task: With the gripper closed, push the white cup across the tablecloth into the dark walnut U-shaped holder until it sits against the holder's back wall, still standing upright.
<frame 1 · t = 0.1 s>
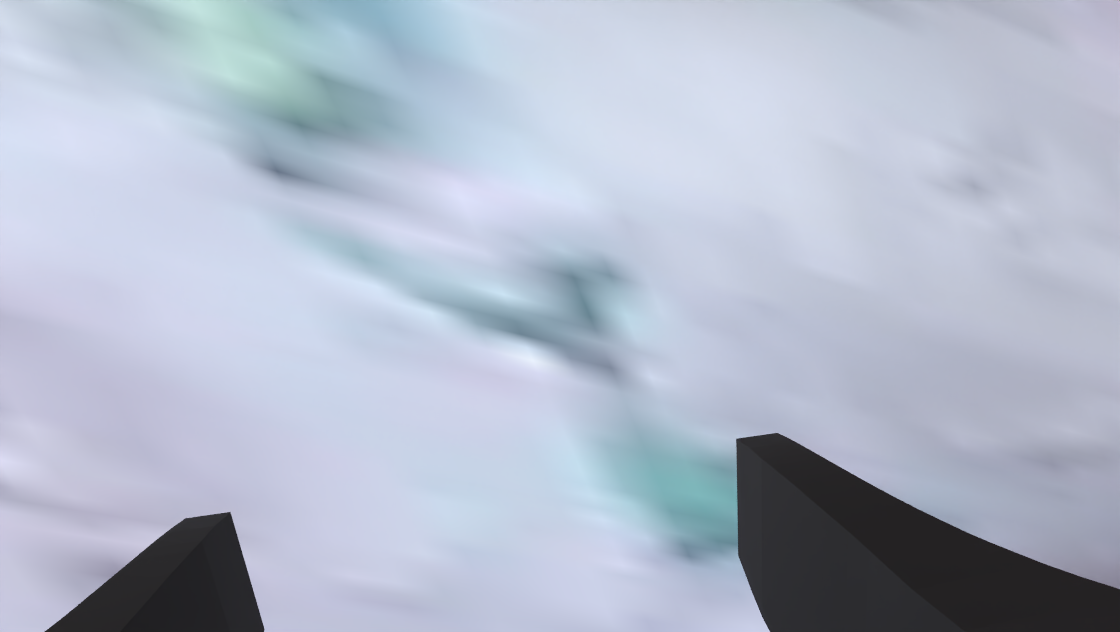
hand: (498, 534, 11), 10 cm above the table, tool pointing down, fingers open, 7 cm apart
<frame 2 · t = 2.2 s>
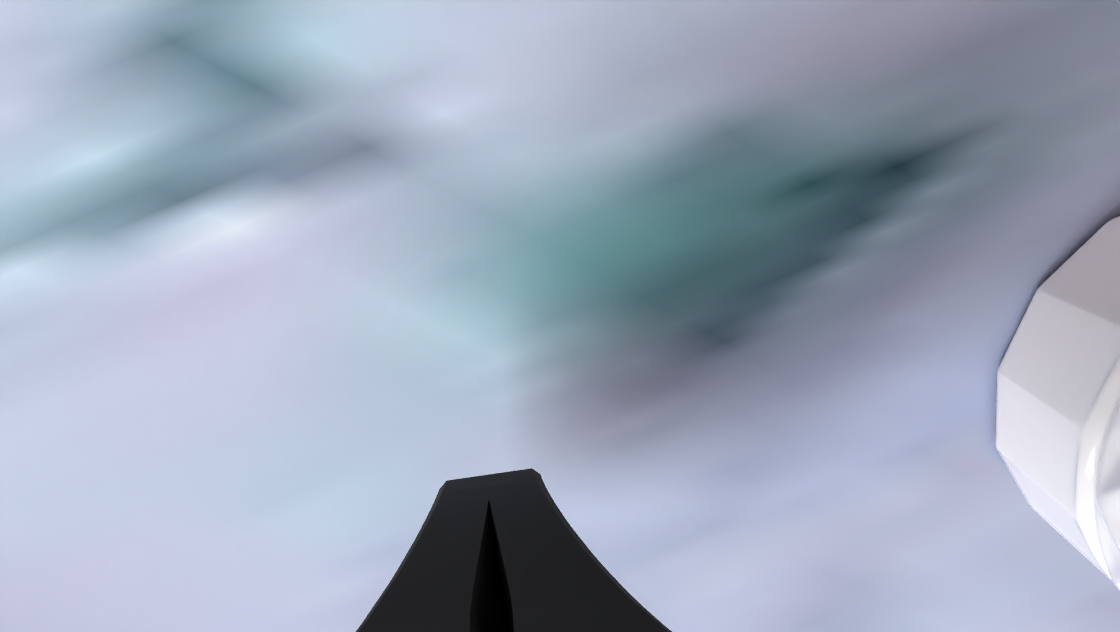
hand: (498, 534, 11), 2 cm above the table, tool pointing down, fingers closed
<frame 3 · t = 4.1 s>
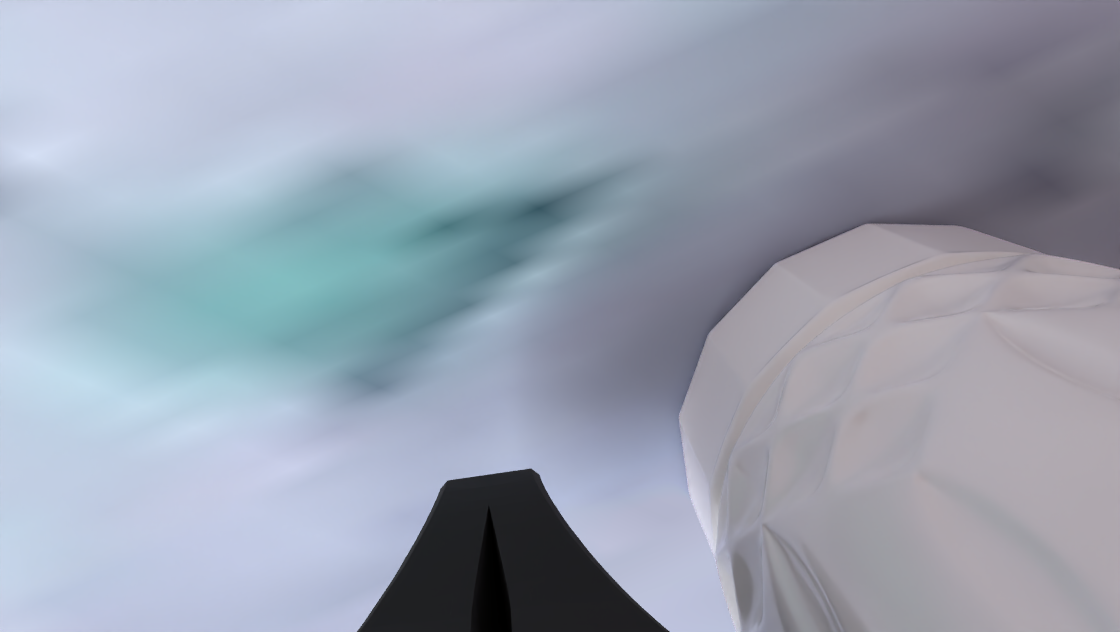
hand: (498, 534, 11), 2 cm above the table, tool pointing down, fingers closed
white cup: (862, 404, 14), on the table, touching gripper
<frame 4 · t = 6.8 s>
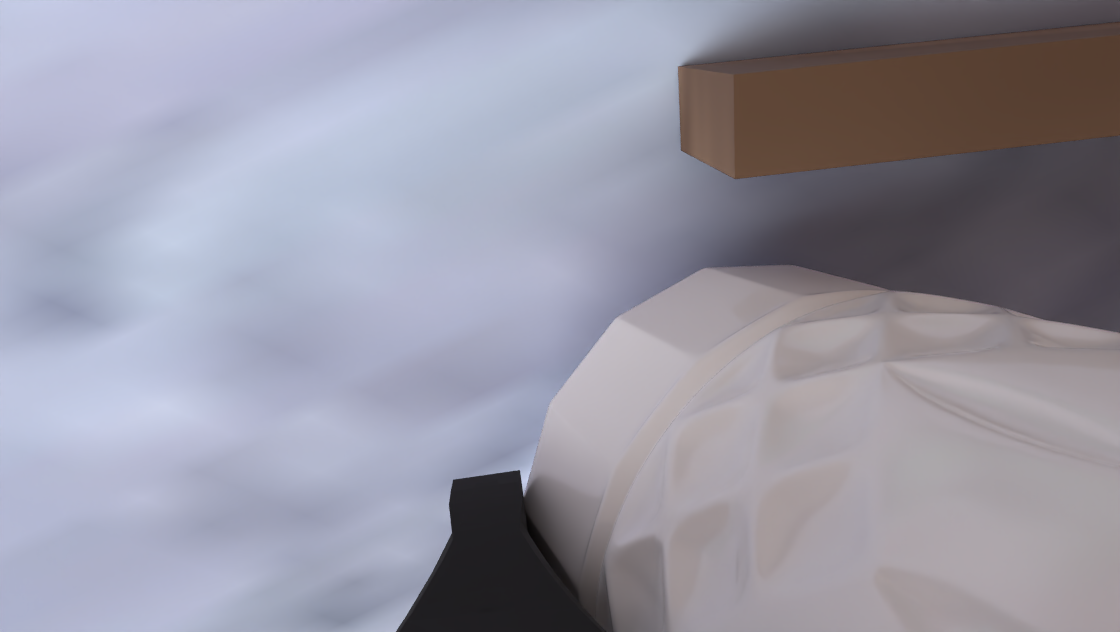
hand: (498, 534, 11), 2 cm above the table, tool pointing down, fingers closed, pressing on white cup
white cup: (708, 460, 13), point 1 cm above the table, touching gripper
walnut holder: (968, 405, 14), on the table
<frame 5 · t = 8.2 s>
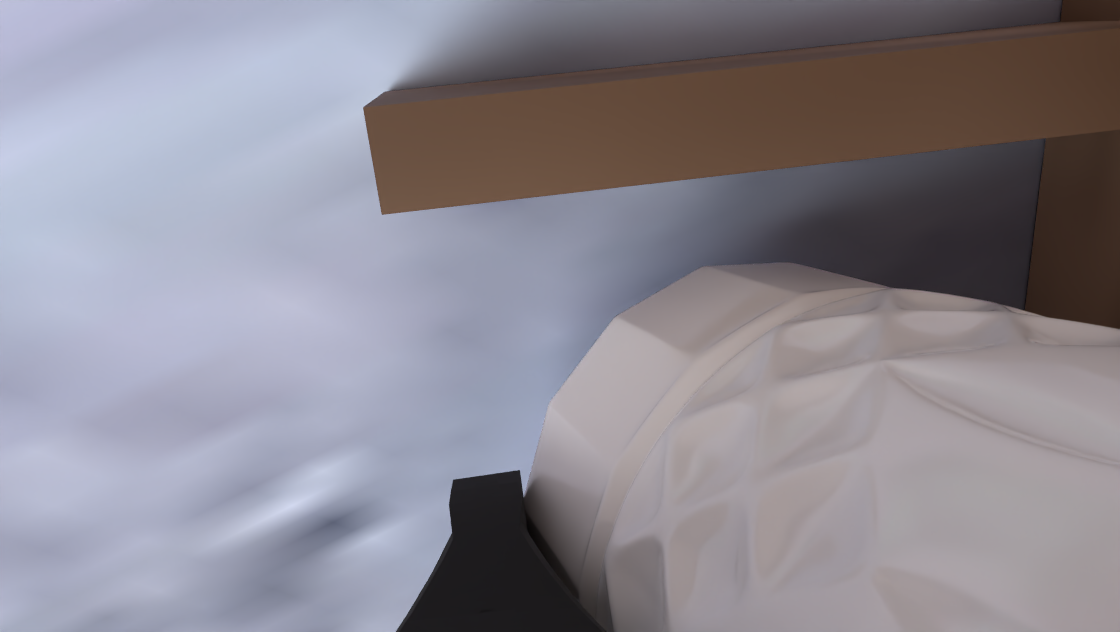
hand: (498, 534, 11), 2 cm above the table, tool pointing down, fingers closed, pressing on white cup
white cup: (708, 458, 13), point 1 cm above the table, touching gripper
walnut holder: (739, 434, 13), on the table
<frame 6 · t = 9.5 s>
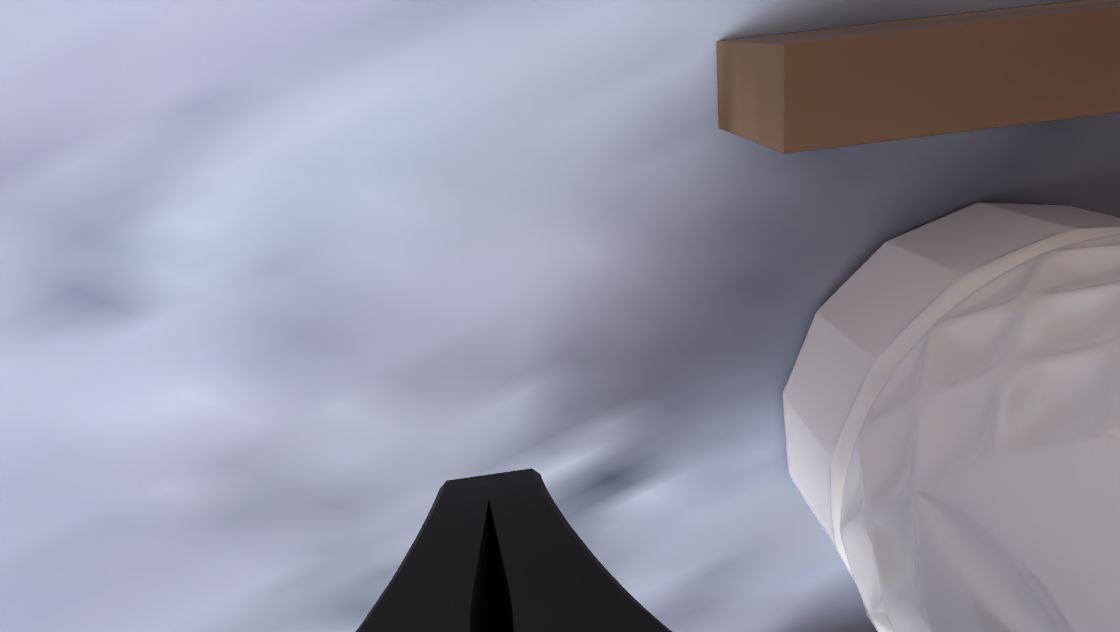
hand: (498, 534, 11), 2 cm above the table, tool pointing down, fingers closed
white cup: (959, 385, 14), on the table
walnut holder: (1008, 387, 14), on the table
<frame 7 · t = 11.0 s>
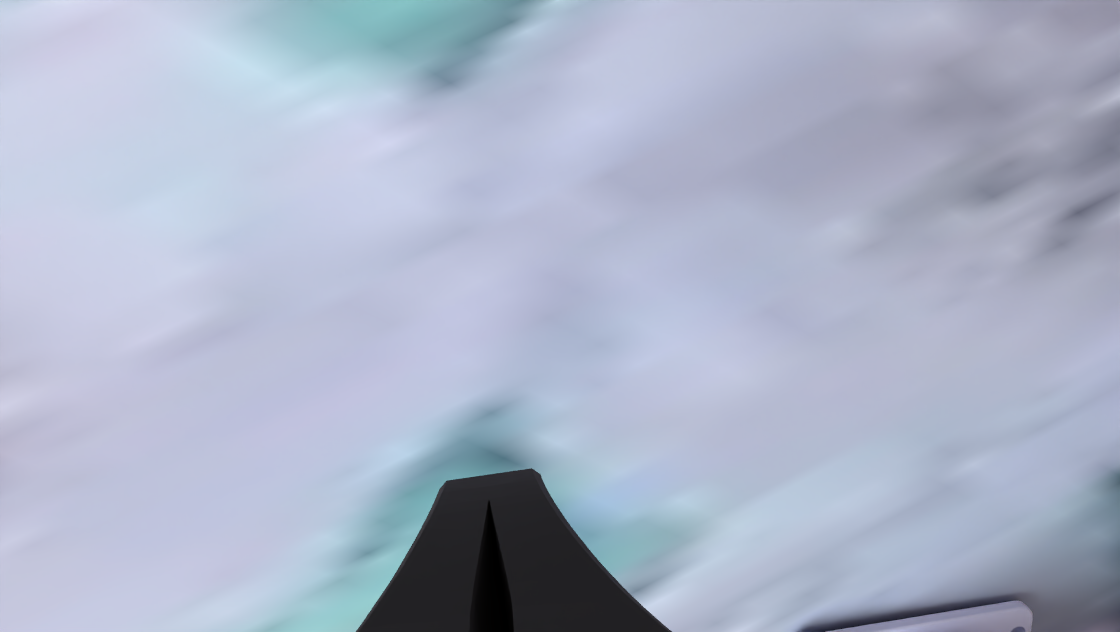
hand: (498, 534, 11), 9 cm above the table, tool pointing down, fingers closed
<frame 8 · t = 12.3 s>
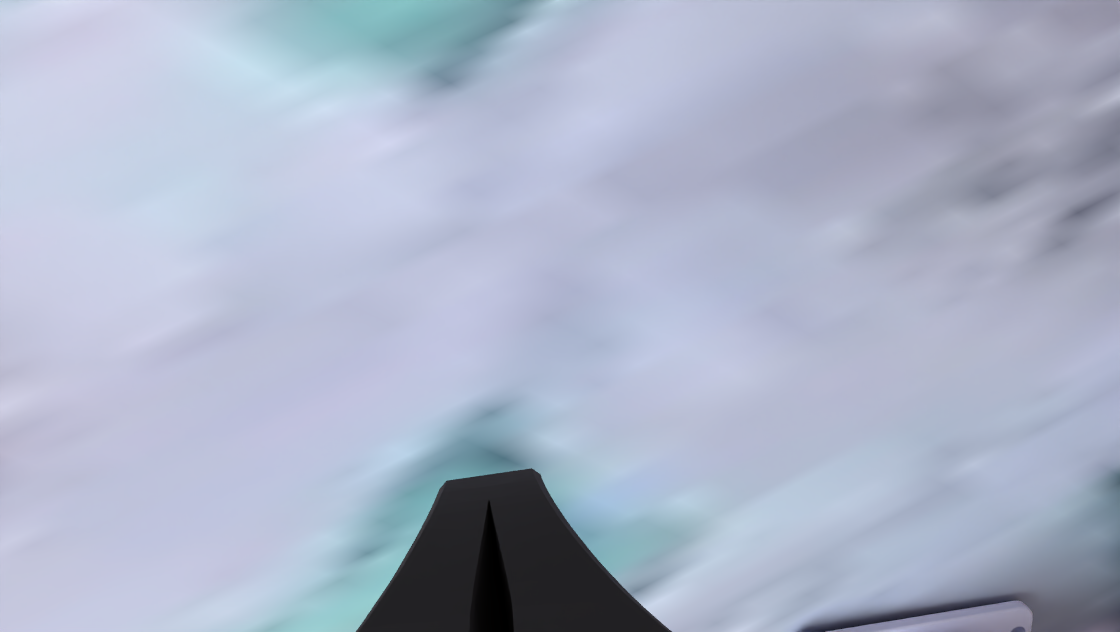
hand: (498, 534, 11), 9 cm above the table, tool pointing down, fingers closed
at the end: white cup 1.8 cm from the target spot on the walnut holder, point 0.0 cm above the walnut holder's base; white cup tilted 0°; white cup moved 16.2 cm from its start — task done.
